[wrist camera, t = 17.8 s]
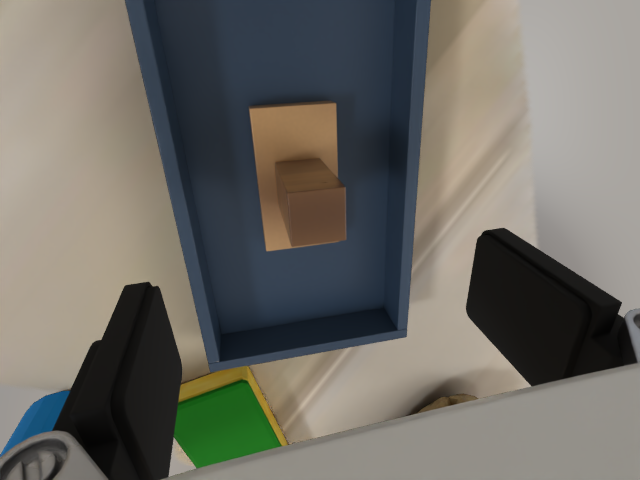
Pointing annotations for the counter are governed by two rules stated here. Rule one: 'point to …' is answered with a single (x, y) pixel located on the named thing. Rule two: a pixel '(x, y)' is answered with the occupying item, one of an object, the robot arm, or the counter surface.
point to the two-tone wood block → (298, 174)
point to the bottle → (38, 418)
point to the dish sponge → (224, 418)
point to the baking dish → (240, 171)
